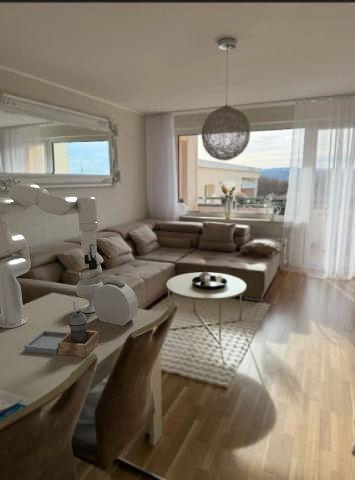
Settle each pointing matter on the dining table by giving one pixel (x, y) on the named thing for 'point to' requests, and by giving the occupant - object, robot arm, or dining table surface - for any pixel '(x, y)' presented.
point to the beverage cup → (78, 327)
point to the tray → (45, 342)
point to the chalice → (88, 292)
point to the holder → (78, 345)
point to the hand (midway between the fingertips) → (90, 266)
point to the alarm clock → (115, 303)
